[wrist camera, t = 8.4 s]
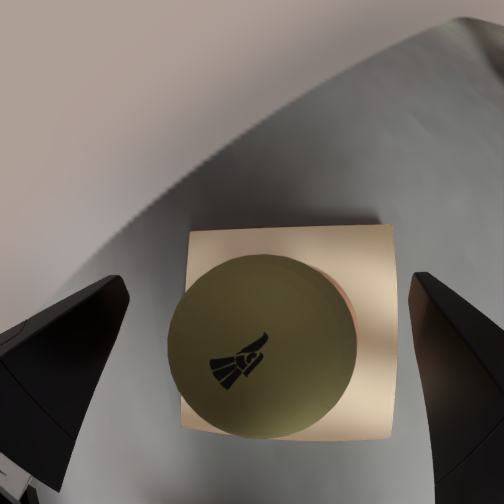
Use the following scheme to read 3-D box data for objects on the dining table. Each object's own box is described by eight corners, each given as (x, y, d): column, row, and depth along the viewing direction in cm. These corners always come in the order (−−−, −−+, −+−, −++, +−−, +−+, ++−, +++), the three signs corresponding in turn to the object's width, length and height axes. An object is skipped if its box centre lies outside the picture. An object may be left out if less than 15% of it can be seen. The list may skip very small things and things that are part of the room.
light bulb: (304, 407, 15) (281, 509, 5) (216, 355, 16) (97, 380, 7) (358, 316, 15) (418, 301, 6) (267, 267, 17) (199, 190, 7)
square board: (385, 430, 15) (391, 439, 13) (191, 420, 17) (179, 427, 16) (387, 232, 18) (392, 223, 16) (199, 238, 20) (188, 230, 19)
